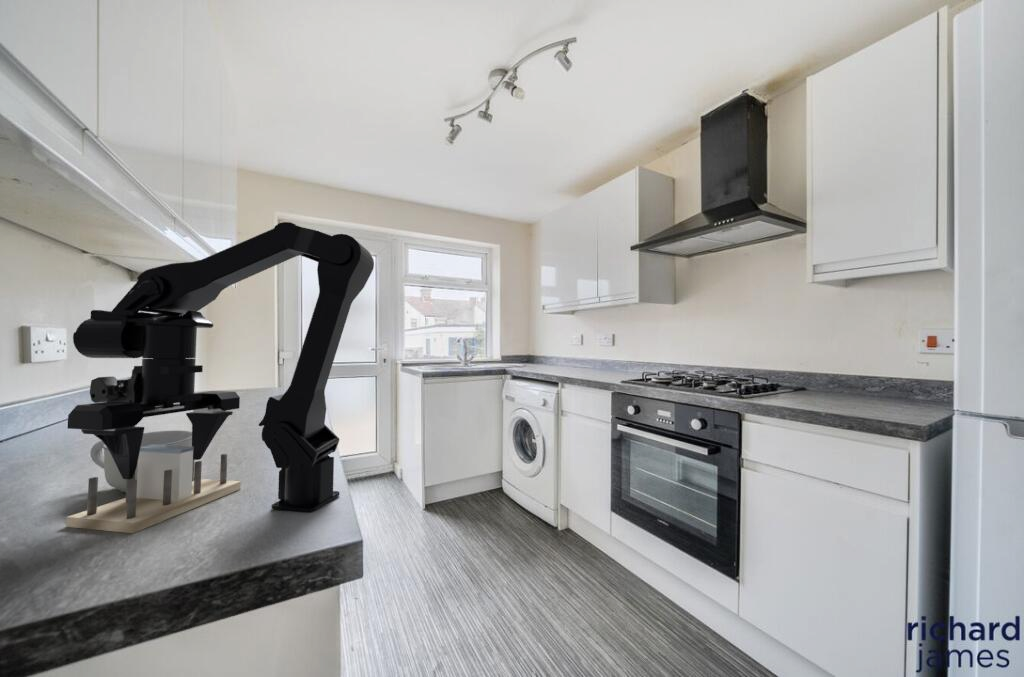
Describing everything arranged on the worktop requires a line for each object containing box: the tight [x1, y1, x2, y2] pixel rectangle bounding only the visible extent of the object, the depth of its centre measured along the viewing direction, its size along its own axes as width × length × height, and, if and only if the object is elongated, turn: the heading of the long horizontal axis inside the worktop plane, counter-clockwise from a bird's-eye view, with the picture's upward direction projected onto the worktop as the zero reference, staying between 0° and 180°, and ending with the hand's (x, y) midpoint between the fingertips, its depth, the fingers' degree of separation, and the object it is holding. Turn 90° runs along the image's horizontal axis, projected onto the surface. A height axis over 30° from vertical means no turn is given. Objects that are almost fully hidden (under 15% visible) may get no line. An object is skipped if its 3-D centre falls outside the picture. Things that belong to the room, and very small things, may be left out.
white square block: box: [136, 445, 194, 501], centre depth 54 cm, size 7×2×7 cm, turn 81°
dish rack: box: [65, 453, 242, 534], centre depth 54 cm, size 10×15×6 cm, turn 171°
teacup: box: [90, 429, 192, 493], centre depth 62 cm, size 14×11×8 cm
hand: (165, 468), depth 54 cm, fingers open, 9 cm apart
